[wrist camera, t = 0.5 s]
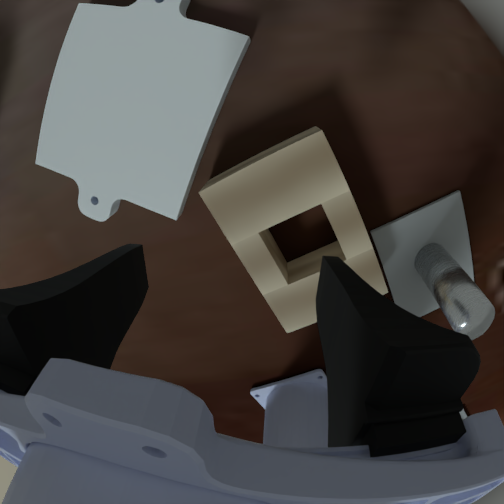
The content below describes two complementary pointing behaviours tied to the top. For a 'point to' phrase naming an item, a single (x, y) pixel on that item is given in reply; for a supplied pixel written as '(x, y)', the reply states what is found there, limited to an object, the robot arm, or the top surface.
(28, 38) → the top surface
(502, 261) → the top surface
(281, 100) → the top surface
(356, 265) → the hole block
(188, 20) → the mounting plate
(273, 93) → the top surface
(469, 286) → the peg
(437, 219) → the mat
